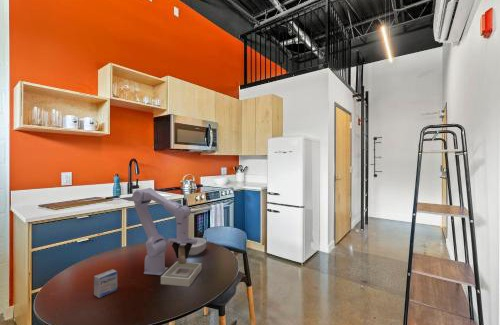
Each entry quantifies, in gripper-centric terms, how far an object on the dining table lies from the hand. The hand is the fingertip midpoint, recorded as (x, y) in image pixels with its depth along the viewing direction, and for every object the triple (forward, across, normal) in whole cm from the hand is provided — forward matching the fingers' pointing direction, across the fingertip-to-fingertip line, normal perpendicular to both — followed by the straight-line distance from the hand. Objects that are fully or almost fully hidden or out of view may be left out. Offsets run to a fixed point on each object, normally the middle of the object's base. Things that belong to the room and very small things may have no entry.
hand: (182, 257), depth 122 cm
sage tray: (+10, 0, 0) cm, 10 cm away
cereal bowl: (+10, -6, +29) cm, 31 cm away
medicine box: (+10, -27, -19) cm, 34 cm away
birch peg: (+2, 0, 0) cm, 2 cm away
